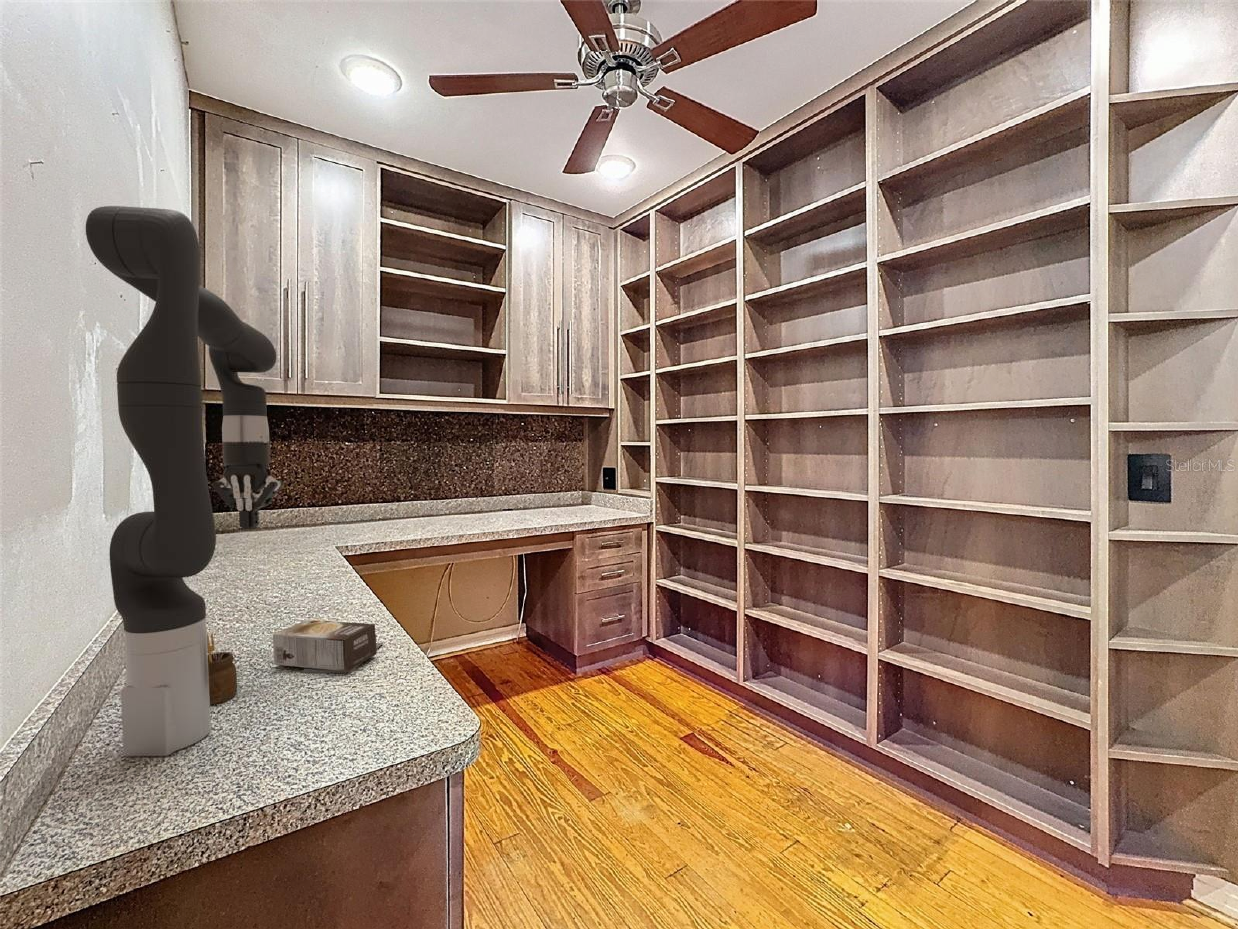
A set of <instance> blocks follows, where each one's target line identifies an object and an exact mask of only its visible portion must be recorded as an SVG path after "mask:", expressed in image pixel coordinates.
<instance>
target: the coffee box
mask: <svg viewBox="0 0 1238 929" xmlns="http://www.w3.org/2000/svg"><path fill="white" fill-rule="evenodd" d="M376 634H377V633H376V624H375V623H360V622H349V621H345V622H344V621H333V620H319V619H317V620H315V619H306V620H304V621H300V622H299V623H296V624H294V625H291V626H289V627H287V628H283V629H282V630H281V629H280V630H279V631H277V632H274V633H273V634H272V646H273V647H272V648H273V649H272V650H273V664H274V666H275V665H276V666H285V667H298V668H305V669H306V668H316V669H327V670H337V671H348V670H350V669H352V668H353V667H355V666H357V665H359V664H360V663H362V662H363V663H364V662H365V661H367V660H370V658H373V657H374V656H376V655H377V654H378V652H377V651H378V650H376V643H377V635H376ZM363 663H362V664H363ZM359 666H360V665H359Z"/></svg>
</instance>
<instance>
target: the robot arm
mask: <svg viewBox="0 0 1238 929" xmlns="http://www.w3.org/2000/svg"><path fill="white" fill-rule="evenodd" d="M85 236H86V240H87V243H88V246H89V249H90V250H91V251H92V253H93V255H94V257H95V258H96V259H97V261H98V262H99V263H100V264H101V265H102V266H103V267H104V268H105V269H107V270H108V271H109V272H110V273H111V274H113V275H114V276H115V277H117V278H119V279H120V280H122V281H123V282H124V283H127V284H128V285H129V286H131V287H133V288H134V289H135V290H137V291H139V292H140V293H141V294H144V296H146V297H148V298H149V299H151V300H152V301H153V302H155V304H154V308H153V310H152V313H151V315H150V317H149V319H148V320H147V322H146V324H145V325H144V326H143V328H142V329H141V331H140V332H139V334H138V335H137V336H136V337H135V339H134V340H133V342H132V343H131V344H130V345H129V347H128V348H127V350H126V352H125V353H124V355H122V358H121V360H120V362H119V364H118V367H117V370H116V392H117V394H116V396H117V408H118V409H117V410H118V411H117V412H118V415H119V421H120V424H121V426H122V429H123V431H124V434H126V437H127V438H128V440H129V441H130V443H131V445H132V446H133V449H134V450H135V451H136V453H137V455H138V456H139V458H140V460H141V461H142V463H143V465H144V467H145V468H146V471H147V472H148V476H149V479H150V481H151V482H150V483H151V490H152V499H153V511H142V512H137V513H133V514H131V515H129V516H127V517H126V518H124V519H123V520H122V521H121V522H119V524H118V525H117V526H116V528H115V530H114V531H113V534H112V536H111V540H110V545H109V553H108V554H109V566H110V567H109V569H110V576H111V583H112V584H111V585H112V594H113V602H114V605H115V608H116V611H117V612H118V614H119V615H120V617H121V619H122V622H123V632H124V633H123V635H124V656H125V659H124V660H125V675H126V677H125V678H126V686H124V687H122V688H121V690H120V708H121V709H120V710H121V712H120V713H121V726H122V728H121V729H122V746H123V756H124V757H168V756H169V755H171V754H172V753H174V752H177V751H179V750H182V749H184V748H187V747H189V746H191V745H194V744H195V743H198V742H199V741H202V739H204V738H206V736H208V735H209V734H210V732H211V731H212V730H211V729H212V727H211V726H212V725H211V724H212V723H211V722H212V720H211V705H210V696H209V673H208V655H209V654H208V650H207V634H208V633H207V632H208V629H207V607H206V601H205V599H204V598H203V597H202V595H199V593H197V592H195V591H194V590H193V589H191V588H190V587H189V586H188V585H187V584H186V582H185V580H184V578H189V577H193V576H196V575H198V574H199V573H201V572H203V570H205V568H207V567H208V566H209V564H210V562H211V561H212V559H213V557H214V553H215V550H216V545H217V532H216V524H215V518H214V517H215V516H214V512H213V511H214V510H213V506H212V501H211V495H210V494H211V493H210V489H209V485H208V484H209V483H208V478H207V469H206V468H207V467H206V454H205V443H204V431H203V430H204V429H203V390H202V379H201V378H202V377H201V368H200V352H199V350H200V348H199V340H201V341H202V342H203V344H206V346H208V355H209V360H210V363H211V365H212V367H213V370H214V373H215V375H216V379H217V381H218V384H219V388H220V391H221V396H222V398H221V399H222V416H223V417H222V425H221V432H222V433H221V436H222V437H221V439H222V462H223V464H224V466H225V469H224V471H223V475H222V476H223V477H221V479H219V480H218V481H213V482H212V483H211V486H212V488H213V489H214V491H215V492H216V493H217V494H218V496H220V498H221V499H222V501H223V502H224V503H225V505H227V506H228V508H234V509H235V510H238V519H239V527H240V528H241V530H242V531H252V530H256V529H257V527H259V525H260V524H259V523H260V522H259V521H260V520H259V510H260V509H262V508H264V507H267V506H269V504H271V502H272V501H273V500H274V498H275V496H276V495H277V494H278V493H279V491H280V490H281V489H282V487H283V486H284V483H283V481H282V480H277V479H276V478H274V477H273V476H272V471H271V469H270V467H269V466H270V462H271V453H270V452H271V451H270V450H271V448H270V427H269V422H268V416H267V415H268V414H267V413H268V412H267V411H268V410H267V409H268V408H267V406H268V404H267V392H266V390H265V389H264V388H263V387H261V386H258V385H254V384H249V383H245V382H242V380H241V379H240V377H239V373H252V374H253V373H255V374H257V373H258V374H259V373H266V372H269V371H270V370H272V369H273V368H274V367H275V364H276V362H277V351H276V348H275V346H274V345H273V343H272V341H271V339H269V338H268V336H266V335H265V334H264V333H262V332H261V331H259V330H258V329H256V328H254V327H253V326H251V325H250V324H248V323H246V322H244V321H243V320H241V319H240V317H239V316H238V315H237V314H236V312H234V310H233V309H232V307H231V306H229V304H228V302H226V301H225V300H224V299H222V298H221V297H220V296H218V295H217V294H215V293H214V292H212V291H210V290H209V289H207V288H206V287H203V286H201V285H200V281H201V280H200V279H201V251H200V249H201V248H200V243H199V238H198V234H197V232H196V228H195V226H194V224H193V223H192V221H191V220H190V219H189V217H188V216H186V215H185V214H184V213H183V212H180V211H179V210H174V209H166V208H157V207H141V206H140V207H139V206H138V207H136V206H125V205H123V206H122V205H107V206H98V207H96V208H94V209H92V210H91V211H90V213H89V214H88V215H87V218H86V221H85Z"/></svg>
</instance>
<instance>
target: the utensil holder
mask: <svg viewBox="0 0 1238 929" xmlns="http://www.w3.org/2000/svg"><path fill="white" fill-rule="evenodd" d="M218 631H219V638H220V640H219V643H220V645H219V646H222V647H221V648H223V645H224V644H223V643H224V642H225V644H227V641H228V640H227V633H226V631H224V630H223V629H217V630H215V631H213V632H212V633H210V638H209V634H208V633H207V650H208V673H209V696H210V706H212V705H217V704H221V703H223V702H226V701H228V700H231V699H232V698H234V697H235V696H236V694H237V691H238V674H237V673H238V672H237V665H235V663H233V662H234V655H233V653H232V652H228V651H225V649H226V648H227V646H224V648H223V649H222V650H220V651H219V652H217V649H218V648H217V647H216V644H215V642H217V639H218V637H217V636H218V634H217V633H218ZM223 633H224V635H225V636H224V635H223ZM215 635H216V636H215ZM221 635H222V639H221ZM223 636H224V637H225V638H224V637H223ZM215 638H216V639H215ZM224 639H225V641H223V640H224ZM221 642H222V644H221Z"/></svg>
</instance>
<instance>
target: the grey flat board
mask: <svg viewBox="0 0 1238 929" xmlns="http://www.w3.org/2000/svg"><path fill="white" fill-rule="evenodd" d="M382 644H383V645H384V643H383V642H376V650H377V649H378V648H379V647H380V646H381V645H382ZM381 647H382V646H381ZM381 647H380V648H381ZM380 648H379V649H380ZM379 649H378V650H379ZM378 650H377V651H378ZM363 663H364V662H362V663H360V664H361V665H362V664H363ZM360 664H359V665H357V666H355V667H353V668H352V669H350V670H348V671H337V670H327V669H316V668H306V667H305V668H303V670H302V674H344V673H345V674H350V673H353V672H354V671H355V670H357V668H359V666H361V665H360ZM352 671H353V672H352Z"/></svg>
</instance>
